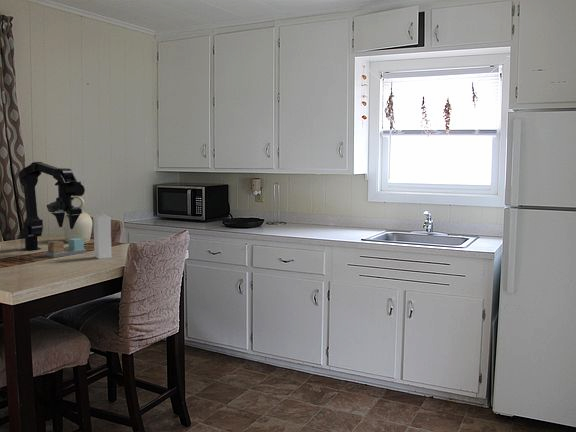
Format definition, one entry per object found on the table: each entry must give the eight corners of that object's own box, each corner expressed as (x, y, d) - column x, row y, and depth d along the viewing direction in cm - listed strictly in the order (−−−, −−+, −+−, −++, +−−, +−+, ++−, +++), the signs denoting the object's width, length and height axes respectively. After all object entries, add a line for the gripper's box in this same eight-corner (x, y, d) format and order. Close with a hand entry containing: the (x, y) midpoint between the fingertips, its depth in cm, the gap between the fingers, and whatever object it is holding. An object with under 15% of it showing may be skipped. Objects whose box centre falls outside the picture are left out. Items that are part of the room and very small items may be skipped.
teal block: (68, 249, 276) (68, 239, 275) (77, 248, 280) (77, 238, 279) (74, 250, 273) (74, 240, 272) (83, 249, 277) (83, 239, 276)
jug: (87, 243, 303) (85, 196, 300) (57, 243, 303) (56, 196, 300) (97, 239, 318) (95, 194, 315) (69, 238, 318) (67, 194, 315)
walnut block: (48, 252, 268) (47, 241, 267) (58, 251, 272) (57, 240, 271) (53, 253, 265) (53, 243, 264) (63, 252, 269) (63, 241, 268)
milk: (98, 259, 261) (97, 211, 259) (94, 257, 266) (92, 210, 263) (111, 257, 265) (110, 210, 262) (107, 255, 270) (105, 209, 267)
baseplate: (45, 255, 268) (45, 252, 268) (78, 250, 281) (78, 247, 281) (54, 257, 264) (53, 254, 264) (86, 252, 277) (86, 249, 277)
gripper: (38, 195, 269) (39, 228, 270) (60, 197, 257) (61, 231, 259) (59, 193, 278) (61, 225, 279) (82, 196, 266) (83, 229, 268)
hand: (66, 228), depth 271 cm, fingers open, 9 cm apart
